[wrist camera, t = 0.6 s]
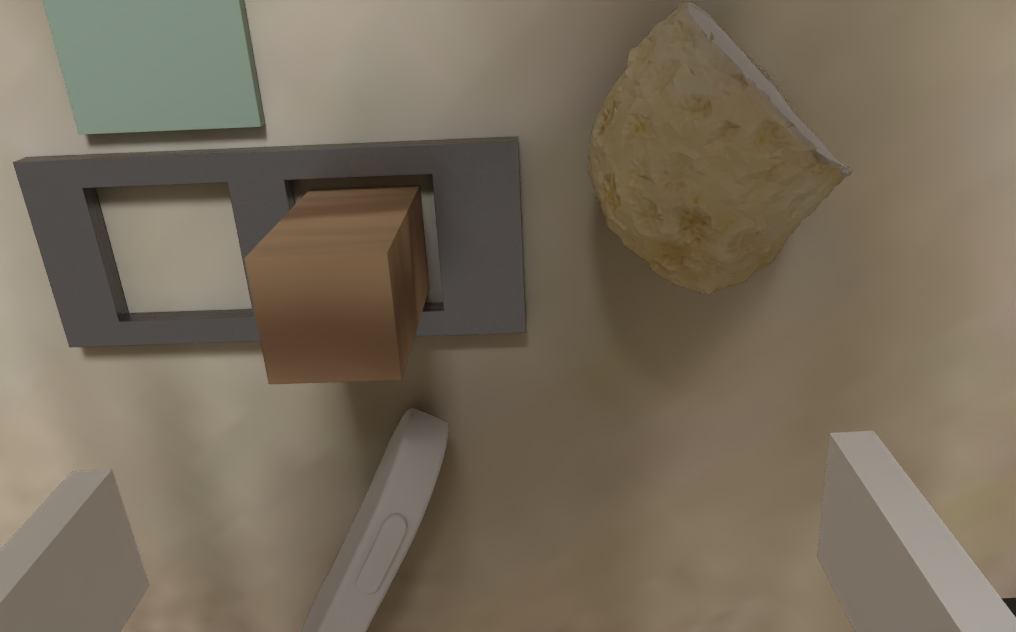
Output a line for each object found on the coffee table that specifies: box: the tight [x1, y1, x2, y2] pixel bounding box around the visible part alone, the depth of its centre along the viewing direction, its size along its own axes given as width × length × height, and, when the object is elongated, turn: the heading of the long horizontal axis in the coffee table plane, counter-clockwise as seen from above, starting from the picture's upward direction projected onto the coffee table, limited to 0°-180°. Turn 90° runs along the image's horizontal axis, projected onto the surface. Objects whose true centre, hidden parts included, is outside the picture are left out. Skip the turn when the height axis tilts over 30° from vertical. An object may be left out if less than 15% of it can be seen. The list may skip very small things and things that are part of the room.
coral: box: [588, 1, 853, 295], centre depth 30 cm, size 10×10×10 cm
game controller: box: [301, 408, 449, 632], centre depth 40 cm, size 20×2×8 cm, turn 155°
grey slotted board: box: [13, 137, 526, 347], centre depth 36 cm, size 9×22×1 cm, turn 93°
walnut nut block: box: [244, 185, 429, 384], centre depth 32 cm, size 5×5×9 cm
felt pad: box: [43, 0, 265, 134], centre depth 33 cm, size 8×8×1 cm
